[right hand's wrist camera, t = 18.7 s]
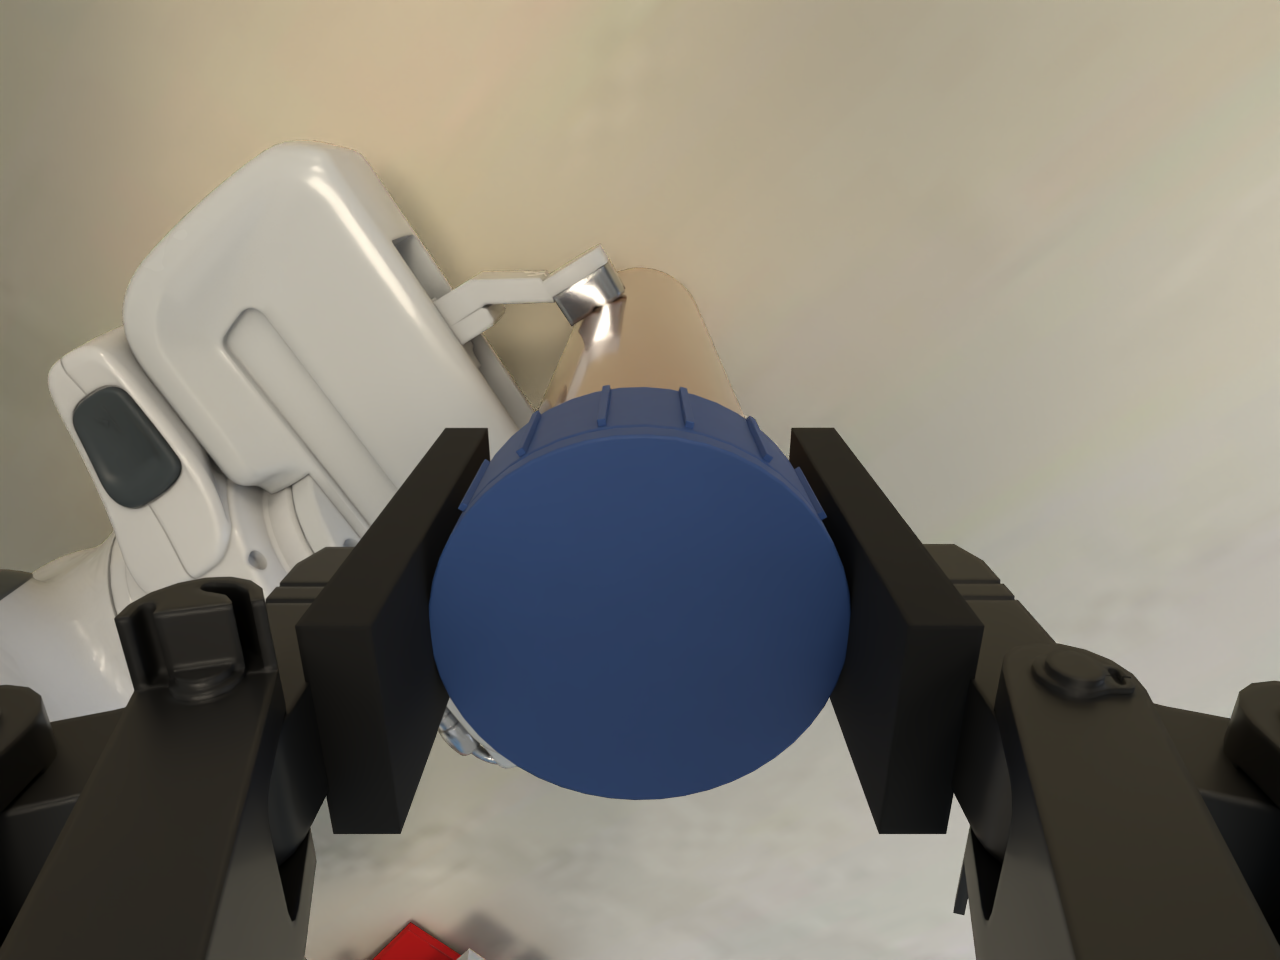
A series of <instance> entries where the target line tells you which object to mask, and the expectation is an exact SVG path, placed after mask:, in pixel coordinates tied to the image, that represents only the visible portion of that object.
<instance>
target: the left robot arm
mask: <svg viewBox="0 0 1280 960" xmlns="http://www.w3.org/2000/svg"><path fill="white" fill-rule="evenodd" d="M608 258H609V257H608V255H607V254H606V252H605V251H604V249H603V247H602V246H601V244H598V245H596V246H594V247H592V248H591V249H589V250H587V251H586V252H584V253H583V254H581V255H579V256H578V257H576V258H575V259H573V260H571V261H570V262H568V263H567V264H565V265H563V266H562V267H560V268H558V269H557V270H555V271H554V272H552V273H550V274H549V273H548V271H547V270H543V271H482V272H481V273H479V274H477V275H476V276H474V277H473V278H471V279H469V280H468V281H466V282H465V283H463V284H461V285H460V286H458V287H457V288H455V289H454V290H453V288H452V287H451V285H450V284H449V282H448V281H447V279H446V278H445V276H444V275H443V273H442V272H441V270H440V269H439V267H438V266H437V264H436V263H435V261H434V260H433V258H432V257H431V255H430V254H429V252H428V251H427V249H426V248H425V246H424V245H423V243H422V242H421V240H420V239H419V237H418V236H417V234H416V233H415V231H414V230H413V228H412V227H411V225H410V224H409V222H408V221H407V219H406V218H405V216H404V215H403V213H402V212H401V210H400V209H399V207H398V206H397V204H396V203H395V201H394V200H393V198H392V197H391V195H390V194H389V192H388V191H387V189H386V188H385V186H384V185H383V183H382V182H381V180H380V179H379V177H378V176H377V174H376V173H375V171H374V170H373V168H372V167H371V165H370V164H369V162H368V161H367V160H366V158H365V157H364V156H363V155H361V154H360V153H359V152H357V151H355V150H353V149H349V148H345V147H341V146H337V145H333V144H329V143H324V142H319V141H312V140H293V141H285V142H282V143H279V144H276V145H274V146H272V147H270V148H268V149H266V150H264V151H263V152H261V153H260V154H259V155H257V156H256V157H254V158H253V159H251V160H250V161H249V162H247V163H246V164H245V165H243V166H242V167H241V168H240V169H238V170H237V171H236V172H235V173H233V174H232V175H231V176H230V177H228V178H227V179H226V180H225V181H223V182H222V183H221V184H220V185H219V186H218V187H216V188H215V189H214V190H213V191H212V192H210V193H209V194H208V195H207V196H206V197H205V198H204V199H203V200H201V201H200V202H199V203H198V204H197V205H196V206H195V207H194V208H193V209H192V210H191V211H190V212H189V213H188V214H186V215H185V216H184V217H183V218H182V219H181V220H180V221H179V222H178V223H177V224H176V225H175V226H174V227H173V228H172V229H171V230H170V231H169V232H168V233H167V234H166V235H165V236H164V237H163V239H162V240H161V241H160V242H159V243H158V244H157V245H156V246H155V247H154V248H153V249H152V250H151V251H150V252H149V254H148V255H147V256H146V257H145V258H144V260H143V261H142V262H141V263H140V265H139V266H138V268H137V269H136V271H135V272H134V274H133V276H132V278H131V280H130V282H129V285H128V287H127V290H126V293H125V296H124V301H123V310H122V316H123V325H122V326H119V327H117V328H115V329H113V330H110V331H108V332H106V333H104V334H101V335H99V336H97V337H95V338H93V339H92V340H90V341H88V342H86V343H84V344H82V345H81V346H79V347H77V348H75V349H74V350H72V351H70V352H69V353H67V354H66V355H64V356H63V357H61V358H60V359H59V360H58V361H57V362H56V363H55V364H53V366H52V367H51V369H50V371H49V373H48V388H49V392H50V395H51V398H52V400H53V403H54V405H55V407H56V409H57V411H58V413H59V415H60V417H61V419H62V421H63V423H64V425H65V426H66V428H67V430H68V432H69V434H70V436H71V438H72V440H73V442H74V444H75V446H76V448H77V450H78V452H79V454H80V456H81V458H82V460H83V462H84V464H85V466H86V468H87V470H88V472H89V474H90V476H91V478H92V480H93V482H94V485H95V487H96V489H97V491H98V494H99V496H100V498H101V500H102V503H103V505H104V507H105V510H106V512H107V515H108V517H109V520H110V522H111V525H112V527H113V531H112V533H111V534H110V535H109V536H108V537H107V539H106V540H105V541H104V542H103V543H102V544H100V545H99V546H96V547H92V548H88V549H83V550H80V551H76V552H73V553H70V554H67V555H64V556H62V557H60V558H57V559H55V560H53V561H51V562H49V563H47V564H46V565H44V566H42V567H40V568H39V569H37V570H35V571H34V572H32V573H28V572H23V571H15V570H4V569H0V685H15V686H24V687H29V688H31V689H32V690H34V691H35V692H37V693H38V694H40V695H41V697H42V700H43V703H44V706H45V709H46V712H47V715H48V718H49V721H50V722H53V721H58V720H64V719H69V718H74V717H80V716H85V715H90V714H95V713H101V712H106V711H111V710H116V709H120V708H124V707H126V706H127V704H128V702H129V700H130V698H131V696H132V694H133V692H134V688H133V684H132V681H131V677H130V674H129V670H128V667H127V663H126V660H125V656H124V653H123V649H122V645H121V642H120V638H119V635H118V631H117V628H116V624H115V621H114V618H115V617H116V616H117V615H118V614H119V613H120V612H121V611H122V610H123V609H124V608H125V607H126V606H127V605H129V604H130V603H132V602H134V601H136V600H138V599H139V598H141V597H143V596H145V595H147V594H149V593H150V592H153V591H156V590H159V589H162V588H165V587H167V586H170V585H173V584H176V583H180V582H185V581H190V580H195V579H200V578H206V577H236V578H242V579H247V580H251V581H253V582H254V583H256V584H257V585H259V586H260V587H262V588H263V593H264V598H265V602H266V598H267V597H268V596H269V594H270V593H271V592H272V591H273V590H274V589H275V588H276V587H279V586H280V582H281V581H282V580H283V578H284V577H285V576H286V575H287V574H288V573H289V572H290V570H291V569H292V568H293V567H294V566H295V565H296V564H297V563H298V562H300V561H302V560H304V559H305V558H307V557H309V556H310V555H312V554H314V553H316V552H317V551H319V550H321V549H323V548H324V547H355V546H356V545H357V543H358V542H359V541H360V539H361V538H362V537H363V535H364V534H365V533H366V532H367V530H368V529H369V528H370V526H371V525H372V524H373V522H374V521H375V520H376V518H377V517H378V516H379V514H380V513H381V512H382V511H383V509H384V508H385V507H386V505H387V504H388V503H389V501H390V500H391V499H392V497H393V496H394V495H395V493H396V492H397V491H398V490H399V488H400V487H401V486H402V484H403V483H404V482H405V480H406V479H407V478H408V476H409V475H410V474H411V472H412V471H413V470H414V469H415V467H416V466H417V465H418V463H419V462H420V461H421V459H422V458H423V457H424V455H425V454H426V453H427V451H428V450H429V449H430V447H431V446H432V445H433V444H434V442H435V441H436V440H437V438H438V437H439V436H440V434H441V433H442V432H443V430H444V429H445V428H488V436H489V449H490V461H491V460H492V458H493V457H494V455H495V454H496V453H497V452H498V451H499V450H500V448H501V447H502V446H503V445H504V444H505V443H506V442H507V441H508V440H509V439H510V437H511V436H513V435H514V434H515V433H516V432H517V431H519V430H520V429H521V428H522V427H523V426H525V425H526V424H527V423H528V422H529V420H530V418H531V416H532V414H533V413H534V412H535V411H534V410H533V408H532V407H531V405H530V404H529V402H528V401H527V399H526V398H525V396H524V395H523V393H522V392H521V390H520V389H519V387H518V386H517V384H516V383H515V381H514V380H513V378H512V377H511V375H510V374H509V372H508V371H507V369H506V368H505V366H504V365H503V363H502V362H501V360H500V359H499V357H498V356H497V354H496V353H495V351H494V350H493V348H492V347H491V345H490V344H489V342H488V341H487V339H486V338H485V336H484V335H483V333H482V332H484V331H485V330H487V329H488V328H490V327H491V326H493V325H494V324H495V323H496V322H497V321H498V320H499V319H500V318H501V317H502V315H503V314H504V313H505V310H506V308H505V306H504V304H519V303H553V302H556V303H557V305H558V306H559V308H560V309H561V311H562V312H563V314H564V315H565V317H566V318H567V320H568V321H569V323H570V325H571V326H573V325H574V324H576V323H578V322H579V321H581V320H583V319H584V318H586V317H587V316H589V315H590V314H591V313H592V311H593V309H594V307H595V305H596V306H604V305H607V304H609V303H611V302H612V301H614V300H616V299H617V298H619V297H620V296H621V295H622V294H624V293H625V289H626V287H625V286H624V284H623V282H622V280H621V278H620V277H619V275H618V273H617V271H616V270H615V268H614V266H613V264H612V262H611V261H610V259H608ZM438 731H439V733H440V735H441V736H442V738H443V739H444V740H445V742H446V743H447V744H448V745H449V746H450V747H451V748H452V749H454V750H455V751H456V752H457V753H459V754H460V755H462V756H466V755H469V754H473V755H474V756H476V757H477V758H479V759H481V760H483V761H486V762H489V763H492V764H497V765H499V766H501V767H503V768H513V767H517V766H516V765H515V764H513V763H512V762H510V761H509V760H508V759H506V758H505V757H503V756H502V755H500V754H499V753H498V752H496V751H495V750H494V749H493V748H492V747H491V746H490V745H489V744H487V743H486V742H485V741H484V740H483V739H482V738H481V737H480V736H479V735H478V734H477V733H476V732H475V731H474V730H473V729H472V727H471V726H470V725H469V724H468V723H467V722H466V720H465V719H464V718H463V717H462V715H461V714H460V712H459V711H458V709H457V708H456V706H455V705H454V703H453V702H452V700H451V699H450V698H449V701H448V704H447V707H446V709H445V712H444V715H443V718H442V720H441V723H440V726H439V729H438ZM480 744H481V745H483V747H484V748H483V747H482V746H480ZM304 960H307V959H306V958H305V956H304Z"/></svg>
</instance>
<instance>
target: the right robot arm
mask: <svg viewBox="0 0 1280 960" xmlns="http://www.w3.org/2000/svg"><path fill="white" fill-rule="evenodd" d="M485 459H486V460H488V461H490V449H489V436H488V428H445V429H444V430H443V432H442V433H441V434H440V436H439V437H438V438H437V440H436V441H435V442H434V444H433V445H432V446H431V447H430V449H429V450H428V451H427V453H426V454H425V455H424V457H423V458H422V459H421V461H420V462H419V463H418V465H417V466H416V467H415V469H414V470H413V471H412V472H411V474H410V475H409V476H408V478H407V479H406V480H405V482H404V483H403V484H402V486H401V487H400V488H399V490H398V491H397V492H396V493H395V495H394V496H393V497H392V499H391V500H390V501H389V503H388V504H387V505H386V507H385V508H384V509H383V511H382V512H381V513H380V514H379V516H378V517H377V518H376V520H375V521H374V522H373V524H372V525H371V526H370V528H369V529H368V530H367V532H366V533H365V534H364V535H363V537H362V538H361V539H360V541H359V542H358V543H357V545H356V546H355V547H324V548H323V549H321V550H319V551H317V552H316V553H314V554H312V555H310V556H309V557H307V558H305V559H304V560H302V561H300V562H298V563H297V564H296V565H295V566H294V567H293V568H292V569H291V570H290V572H289V573H288V574H287V575H286V576H285V577H284V578H283V580H282V581H281V582H280V586H279V587H276V588H275V589H274V590H273V591H272V592H271V593H270V594H269V596H268V597H267V598H266V602H265V598H264V593H263V588H262V587H260V586H259V585H257V584H256V583H254V582H253V581H251V580H247V579H242V578H236V577H206V578H200V579H195V580H190V581H185V582H180V583H176V584H173V585H170V586H167V587H165V588H162V589H159V590H156V591H153V592H150V593H149V594H147V595H145V596H143V597H141V598H139V599H138V600H136V601H134V602H132V603H130V604H129V605H127V606H126V607H125V608H124V609H123V610H122V611H121V612H120V613H119V614H118V615H117V616H116V617H115V618H114V621H115V624H116V628H117V631H118V635H119V638H120V642H121V645H122V649H123V653H124V656H125V660H126V663H127V667H128V670H129V674H130V677H131V681H132V684H133V688H134V692H133V694H132V696H131V698H130V700H129V702H128V704H127V706H126V707H124V708H120V709H116V710H111V711H106V712H101V713H95V714H90V715H85V716H80V717H74V718H69V719H64V720H58V721H53V722H50V721H49V718H48V715H47V712H46V709H45V706H44V703H43V700H42V697H41V695H40V694H38V693H37V692H35V691H34V690H32V689H31V688H29V687H24V686H15V685H0V960H304V956H305V948H306V940H307V932H308V924H309V916H310V908H311V900H312V892H313V884H314V876H315V868H316V856H315V850H314V844H313V839H312V834H311V829H310V827H311V825H312V823H313V821H314V819H315V817H316V815H317V813H318V811H319V809H320V807H321V805H322V803H323V801H324V799H325V797H326V796H327V802H328V807H329V812H330V818H331V823H332V828H333V834H401V831H402V828H403V826H404V823H405V820H406V817H407V814H408V812H409V809H410V806H411V803H412V801H413V798H414V795H415V792H416V790H417V787H418V784H419V781H420V779H421V776H422V773H423V770H424V767H425V765H426V762H427V759H428V756H429V754H430V751H431V748H432V745H433V743H434V740H435V737H436V734H437V731H438V729H439V726H440V723H441V720H442V718H443V715H444V712H445V709H446V707H447V704H448V701H449V698H450V697H449V695H448V693H447V690H446V688H445V686H444V684H443V682H442V680H441V678H440V675H439V672H438V669H437V666H436V663H435V660H434V656H433V648H432V639H431V631H430V621H429V599H430V592H431V585H432V580H433V577H434V574H435V570H436V567H437V564H438V561H439V557H440V555H441V553H442V551H443V549H444V547H445V545H446V543H447V541H448V539H449V537H450V535H451V533H452V531H453V529H454V527H455V525H456V523H457V521H458V519H459V517H460V516H461V514H462V512H463V511H461V510H460V509H458V507H459V505H460V503H461V502H462V500H463V498H464V496H465V494H466V492H467V491H468V489H469V487H470V485H471V483H472V481H473V479H474V478H475V476H476V474H477V472H478V470H479V468H480V466H481V465H482V463H483V462H484V460H485ZM789 462H790V463H791V465H792V467H793V468H794V469H796V468H797V467H800V469H801V470H802V472H803V474H804V476H805V477H806V479H807V481H808V483H809V485H810V487H811V488H812V490H813V492H814V494H815V496H816V498H817V499H818V501H819V503H820V505H821V507H822V509H823V510H824V512H825V514H826V516H827V517H826V518H825V519H823V520H822V522H823V524H824V526H825V527H826V529H827V532H828V533H829V535H830V537H831V539H832V541H833V543H834V545H835V547H836V550H837V552H838V555H839V557H840V559H841V562H842V564H843V567H844V571H845V575H846V579H847V583H848V587H849V592H850V604H851V615H850V625H849V634H848V643H847V651H846V658H845V663H844V665H843V668H842V671H841V673H840V676H839V679H838V681H837V684H836V686H835V688H834V690H833V692H832V693H831V695H830V700H831V702H832V705H833V708H834V711H835V714H836V716H837V719H838V722H839V725H840V727H841V730H842V733H843V736H844V738H845V741H846V744H847V747H848V749H849V752H850V755H851V758H852V761H853V763H854V766H855V769H856V772H857V774H858V777H859V780H860V783H861V785H862V788H863V791H864V794H865V796H866V799H867V802H868V805H869V808H870V810H871V813H872V816H873V819H874V821H875V824H876V827H877V830H878V832H879V834H946V831H947V826H948V820H949V815H950V810H951V804H952V799H953V794H955V796H956V798H957V800H958V802H959V804H960V806H961V808H962V810H963V812H964V814H965V816H966V818H967V820H968V822H969V824H970V829H969V834H968V839H967V844H966V849H965V854H964V859H963V864H962V869H961V874H960V879H959V884H958V889H957V894H956V899H955V906H954V912H953V913H957V914H961V915H964V914H965V909H966V904H967V899H968V898H969V906H970V914H971V922H972V930H973V938H974V946H975V954H976V960H1280V681H1268V682H1259V683H1252V684H1250V685H1249V686H1247V687H1246V688H1244V689H1243V690H1241V691H1240V692H1239V695H1238V698H1237V701H1236V704H1235V707H1234V710H1233V713H1232V716H1231V719H1230V718H1225V717H1220V716H1214V715H1209V714H1204V713H1198V712H1193V711H1188V710H1182V709H1177V708H1172V707H1166V706H1162V705H1158V704H1154V703H1153V702H1152V700H1151V698H1150V696H1149V694H1148V693H1147V691H1146V689H1145V688H1144V687H1143V686H1142V684H1141V683H1140V682H1139V681H1138V680H1137V678H1136V677H1135V676H1134V675H1133V674H1132V673H1130V672H1129V671H1127V670H1126V669H1124V668H1123V667H1121V666H1120V665H1118V664H1116V663H1115V662H1113V661H1112V660H1110V659H1107V658H1105V657H1102V656H1100V655H1097V654H1095V653H1092V652H1090V651H1088V650H1085V649H1080V648H1076V647H1071V646H1067V645H1063V644H1056V642H1055V641H1054V640H1053V639H1052V638H1051V637H1050V636H1049V634H1048V633H1047V632H1046V631H1045V630H1044V629H1043V628H1042V627H1041V625H1040V624H1039V623H1038V622H1037V621H1036V620H1035V619H1034V618H1033V616H1032V615H1031V614H1030V613H1029V612H1028V611H1027V610H1026V608H1025V607H1024V606H1023V605H1022V604H1021V603H1020V602H1019V601H1018V600H1015V599H1014V595H1013V594H1012V593H1011V592H1010V590H1009V589H1008V588H1007V587H1006V586H1005V585H1004V584H1000V579H999V578H998V577H997V576H996V575H995V573H994V572H993V571H992V570H991V569H990V568H989V567H988V566H987V564H986V563H985V562H984V561H983V560H981V559H979V558H978V557H976V556H974V555H972V554H971V553H969V552H967V551H965V550H964V549H962V548H960V547H958V546H957V545H955V544H922V543H921V541H920V540H919V539H918V538H917V536H916V535H915V534H914V532H913V531H912V530H911V528H910V527H909V526H908V524H907V523H906V522H905V520H904V519H903V518H902V516H901V515H900V514H899V513H898V511H897V510H896V509H895V507H894V506H893V505H892V503H891V502H890V501H889V499H888V498H887V497H886V495H885V494H884V493H883V492H882V490H881V489H880V488H879V486H878V485H877V484H876V482H875V481H874V480H873V478H872V477H871V476H870V474H869V473H868V472H867V471H866V469H865V468H864V467H863V465H862V464H861V463H860V461H859V460H858V459H857V457H856V456H855V455H854V453H853V452H852V451H851V450H850V448H849V447H848V446H847V444H846V443H845V442H844V440H843V439H842V438H841V436H840V435H839V434H838V432H837V431H836V430H835V428H792V429H791V442H790V456H789Z"/></svg>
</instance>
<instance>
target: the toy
mask: <svg viewBox="0 0 1280 960" xmlns="http://www.w3.org/2000/svg"><path fill="white" fill-rule="evenodd" d="M373 960H486V959H484V958H483V957H481V956H480V955H478V954H477V953H475V952H474V951H473V950H471V949H470V948H469V949H468V950H467V951H466V952H465V953H463V954H462V955H460V954H458V953H457V952H455V951H454V950H452V949H451V948H449V947H448V946H446V945H444V944H443V943H441V942H440V941H438V940H437V939H435V938H434V937H432V936H431V935H429V934H428V933H426V932H425V931H423V930H422V929H420V928H418V927H417V926H415V925H414V924H412V923H411V922H410V923H409V924H408V925H407V926H406V927H405V928H404V929H403V930H402V931H401V932H400V933H399V934H398V935H397V936H396V937H395V938H394V939H393V940H392V941H391V942H390V943H389V944H388V945H387V946H386V947H385V948H384V949H383V950H382V951H381V952H380V953H379V954H378V955H377V956H376V957H375V958H374V959H373Z"/></svg>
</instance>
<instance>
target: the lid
mask: <svg viewBox="0 0 1280 960" xmlns="http://www.w3.org/2000/svg"><path fill="white" fill-rule="evenodd" d="M458 509H460V510H461V511H463V512H462V514H461V516H460V517H459V519H458V521H457V523H456V525H455V527H454V529H453V531H452V533H451V535H450V537H449V539H448V541H447V543H446V545H445V547H444V549H443V551H442V553H441V555H440V557H439V561H438V564H437V567H436V570H435V574H434V577H433V580H432V585H431V592H430V599H429V621H430V631H431V639H432V648H433V656H434V660H435V663H436V666H437V669H438V672H439V675H440V678H441V680H442V682H443V684H444V686H445V688H446V690H447V693H448V695H449V697H450V699H451V700H452V702H453V703H454V705H455V706H456V708H457V709H458V711H459V712H460V714H461V715H462V717H463V718H464V719H465V720H466V722H467V723H468V724H469V725H470V726H471V727H472V729H473V730H474V731H475V732H476V733H477V734H478V735H479V736H480V737H481V738H482V739H483V740H484V741H485V742H486V743H487V744H489V745H490V746H491V747H492V748H493V749H494V750H495V751H496V752H498V753H499V754H500V755H502V756H503V757H505V758H506V759H508V760H509V761H510V762H512V763H513V764H515V765H516V766H518V767H520V768H522V769H523V770H525V771H527V772H529V773H531V774H533V775H534V776H536V777H538V778H540V779H543V780H545V781H548V782H550V783H553V784H555V785H558V786H560V787H563V788H567V789H570V790H574V791H577V792H581V793H584V794H589V795H595V796H600V797H606V798H615V799H629V800H648V799H665V798H672V797H679V796H686V795H690V794H694V793H698V792H702V791H706V790H710V789H713V788H716V787H718V786H721V785H724V784H727V783H730V782H732V781H734V780H736V779H739V778H741V777H743V776H745V775H747V774H749V773H751V772H753V771H755V770H756V769H758V768H760V767H761V766H763V765H764V764H766V763H767V762H769V761H771V760H772V759H774V758H775V757H776V756H778V755H779V754H780V753H781V752H783V751H784V750H785V749H786V748H788V747H789V746H790V745H791V744H792V743H794V742H795V741H796V740H797V739H798V737H799V736H800V735H801V734H802V733H803V732H804V731H805V730H806V729H807V728H808V727H809V726H810V725H811V724H812V722H813V721H814V720H815V718H816V717H817V716H818V714H819V713H820V711H821V710H822V709H823V707H824V706H825V704H826V702H827V701H828V699H829V697H830V695H831V693H832V692H833V690H834V688H835V686H836V684H837V681H838V679H839V676H840V673H841V671H842V668H843V665H844V663H845V658H846V651H847V643H848V634H849V625H850V615H851V604H850V592H849V587H848V583H847V579H846V575H845V571H844V567H843V564H842V562H841V559H840V557H839V555H838V552H837V550H836V547H835V545H834V543H833V541H832V539H831V537H830V535H829V533H828V532H827V529H826V527H825V526H824V524H823V522H822V520H823V519H825V518H826V517H827V516H826V514H825V512H824V510H823V509H822V507H821V505H820V503H819V501H818V499H817V498H816V496H815V494H814V492H813V490H812V488H811V487H810V485H809V483H808V481H807V479H806V477H805V476H804V474H803V472H802V470H801V469H800V467H797V468H796V469H794V468H793V467H792V465H791V463H790V462H789V460H788V459H787V458H786V456H785V455H784V454H783V453H782V452H781V450H780V449H779V448H778V447H777V445H776V444H775V443H774V442H773V441H772V440H771V439H770V438H769V437H768V436H766V435H765V434H764V433H763V432H762V431H761V430H760V429H759V427H758V425H757V422H756V420H755V419H754V418H752V417H751V416H749V417H748V418H747V419H745V418H744V417H742V416H741V415H739V414H738V413H736V412H734V411H732V410H730V409H728V408H726V407H724V406H722V405H720V404H718V403H716V402H713V401H711V400H708V399H705V398H702V397H700V396H697V395H694V394H690V393H688V391H687V388H684V387H680V388H679V391H676V390H672V389H663V388H652V387H628V388H616V389H611V388H610V385H605V386H603V387H602V391H598V392H593V393H590V394H587V395H583V396H580V397H577V398H574V399H571V400H568V401H566V402H564V403H562V404H560V405H557V406H555V407H553V408H551V409H549V410H547V411H546V412H544V413H542V414H540V412H539V411H536V412H534V413H533V414H532V416H531V418H530V420H529V422H528V423H527V424H526V425H525V426H523V427H522V428H521V429H520V430H519V431H517V432H516V433H515V434H514V435H513V436H511V437H510V439H509V440H508V441H507V442H506V443H505V444H504V445H503V446H502V447H501V448H500V450H499V451H498V452H497V453H496V454H495V455H494V457H493V458H492V460H491V461H488V460H486V459H485V460H484V462H483V463H482V465H481V466H480V468H479V470H478V472H477V474H476V476H475V478H474V479H473V481H472V483H471V485H470V487H469V489H468V491H467V492H466V494H465V496H464V498H463V500H462V502H461V503H460V505H459V507H458Z"/></svg>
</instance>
